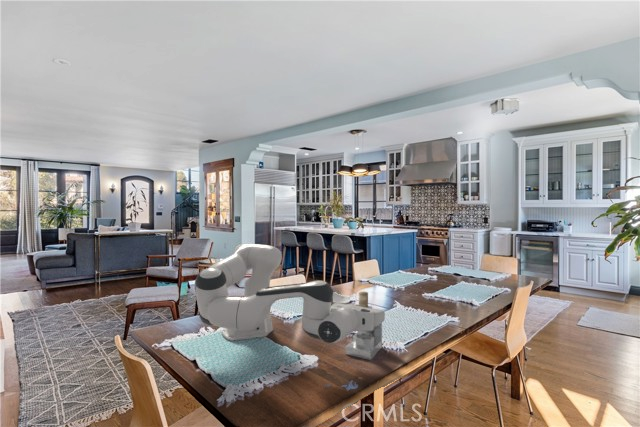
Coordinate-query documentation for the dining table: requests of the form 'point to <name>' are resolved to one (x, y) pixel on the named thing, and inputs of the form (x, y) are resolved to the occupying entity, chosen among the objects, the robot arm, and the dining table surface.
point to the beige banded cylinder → (363, 299)
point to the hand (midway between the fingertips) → (364, 307)
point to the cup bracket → (366, 343)
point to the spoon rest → (340, 299)
